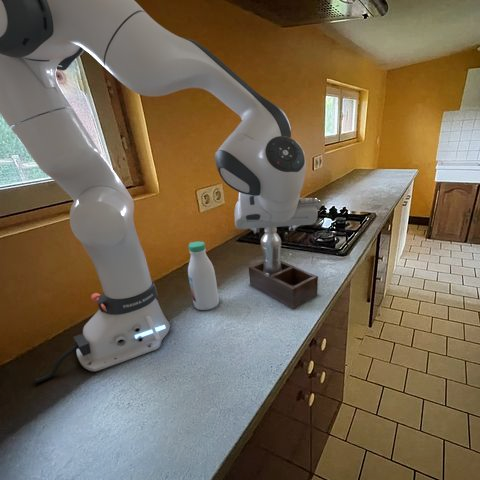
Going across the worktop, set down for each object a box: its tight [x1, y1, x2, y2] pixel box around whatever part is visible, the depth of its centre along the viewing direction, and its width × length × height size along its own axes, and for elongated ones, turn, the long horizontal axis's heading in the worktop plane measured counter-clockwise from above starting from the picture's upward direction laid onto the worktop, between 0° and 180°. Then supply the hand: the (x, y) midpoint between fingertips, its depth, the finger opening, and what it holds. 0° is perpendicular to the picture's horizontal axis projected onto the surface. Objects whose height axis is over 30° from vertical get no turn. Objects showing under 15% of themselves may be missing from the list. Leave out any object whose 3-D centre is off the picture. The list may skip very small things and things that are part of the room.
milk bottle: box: [187, 240, 220, 311], centre depth 89 cm, size 8×8×20 cm
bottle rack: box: [248, 259, 319, 310], centre depth 97 cm, size 11×21×7 cm, turn 42°
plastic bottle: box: [260, 227, 282, 275], centre depth 97 cm, size 6×7×20 cm
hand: (274, 229), depth 80 cm, fingers open, 8 cm apart
